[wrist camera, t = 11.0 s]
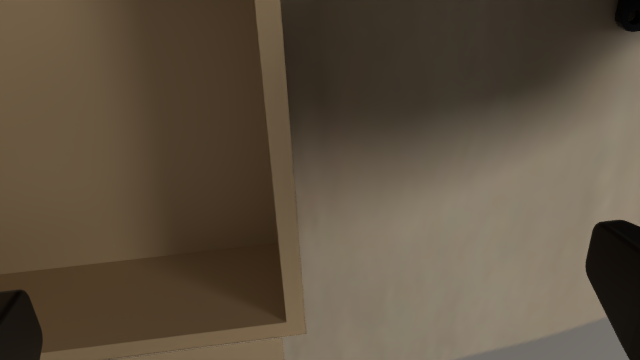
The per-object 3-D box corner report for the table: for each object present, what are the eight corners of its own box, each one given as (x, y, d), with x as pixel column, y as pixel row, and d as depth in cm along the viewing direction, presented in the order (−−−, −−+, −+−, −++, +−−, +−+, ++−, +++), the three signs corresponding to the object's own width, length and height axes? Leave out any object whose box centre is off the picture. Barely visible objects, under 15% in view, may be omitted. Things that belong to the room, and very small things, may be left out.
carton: (258, -158, 17) (268, -159, 12) (292, 244, 24) (306, 333, 19) (-277, -130, 16) (-472, -119, 11) (-76, 286, 22) (-148, 391, 18)
